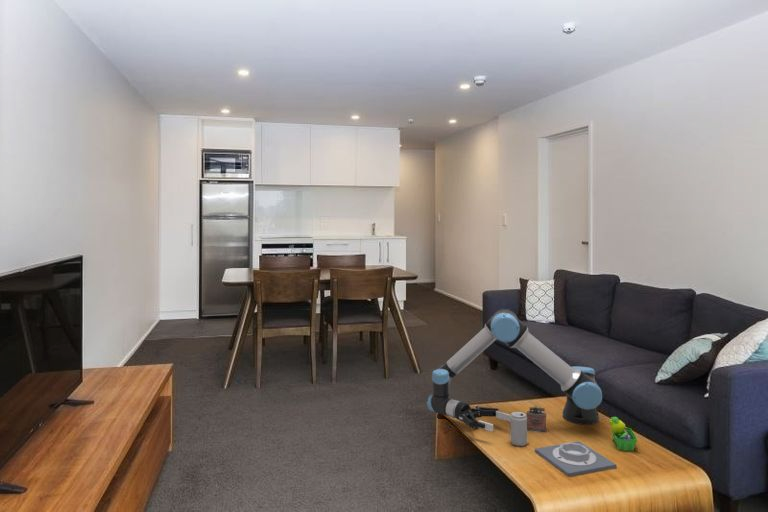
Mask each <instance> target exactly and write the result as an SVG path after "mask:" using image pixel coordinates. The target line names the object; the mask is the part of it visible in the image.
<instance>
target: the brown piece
mask: <svg viewBox="0 0 768 512" xmlns="http://www.w3.org/2000/svg"><path fill="white" fill-rule="evenodd" d="M545 411H546V410H545V407H538V406H536V405H535V406H529V410H527V411H526V417H527V431H528V432H536V433H547V412H545Z"/></svg>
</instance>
